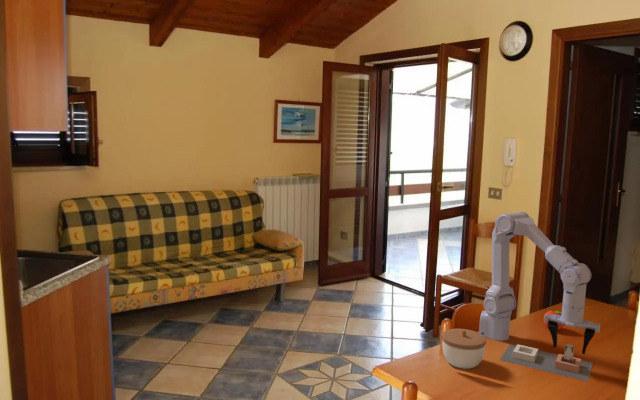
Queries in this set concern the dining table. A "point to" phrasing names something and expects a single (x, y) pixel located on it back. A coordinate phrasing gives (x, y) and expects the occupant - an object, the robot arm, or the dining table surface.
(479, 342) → the lidded bowl
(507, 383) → the dining table surface
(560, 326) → the clementine
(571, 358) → the lock pin
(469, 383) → the dining table surface
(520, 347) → the pin mount
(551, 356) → the board
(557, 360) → the socket
